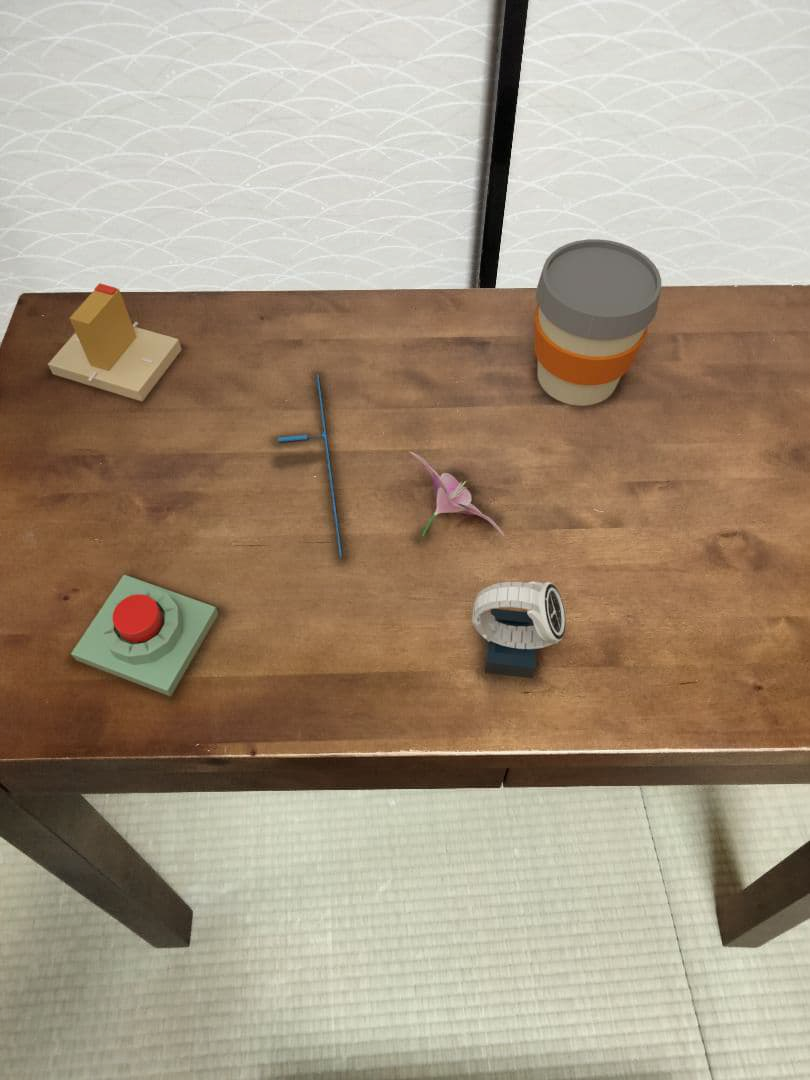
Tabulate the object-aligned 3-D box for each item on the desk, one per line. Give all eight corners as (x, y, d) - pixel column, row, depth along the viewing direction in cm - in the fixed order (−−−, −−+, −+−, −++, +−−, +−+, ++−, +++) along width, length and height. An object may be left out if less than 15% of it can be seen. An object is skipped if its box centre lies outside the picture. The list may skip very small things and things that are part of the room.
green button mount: (78, 664, 75) (63, 644, 72) (130, 585, 80) (118, 564, 77) (173, 700, 74) (162, 682, 70) (220, 617, 78) (212, 597, 75)
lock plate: (52, 383, 95) (43, 366, 93) (100, 326, 100) (93, 309, 98) (141, 410, 93) (135, 394, 91) (186, 351, 98) (181, 334, 96)
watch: (552, 685, 74) (573, 630, 65) (464, 674, 75) (473, 618, 66) (554, 630, 77) (574, 570, 68) (469, 620, 78) (478, 559, 69)
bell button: (109, 634, 73) (103, 625, 72) (132, 597, 75) (127, 588, 74) (148, 648, 72) (142, 639, 71) (171, 611, 74) (166, 602, 73)
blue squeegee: (288, 561, 80) (341, 555, 80) (272, 377, 93) (318, 374, 94) (289, 568, 81) (342, 563, 82) (274, 386, 95) (318, 383, 95)
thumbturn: (108, 371, 93) (88, 322, 87) (90, 365, 93) (68, 316, 87) (136, 336, 96) (118, 287, 90) (118, 331, 96) (99, 281, 90)
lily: (499, 586, 81) (539, 508, 76) (390, 571, 77) (425, 488, 72) (465, 516, 90) (499, 442, 85) (366, 499, 86) (395, 421, 81)
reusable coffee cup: (600, 334, 100) (629, 227, 87) (649, 407, 93) (687, 303, 80) (505, 357, 97) (520, 251, 85) (548, 433, 91) (571, 330, 78)
